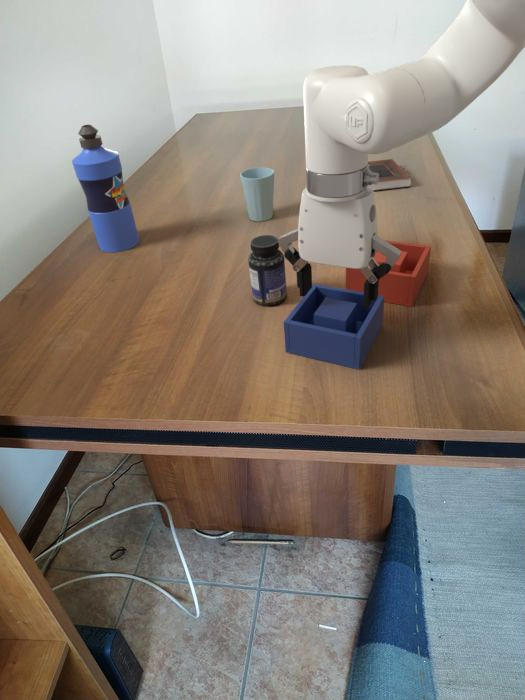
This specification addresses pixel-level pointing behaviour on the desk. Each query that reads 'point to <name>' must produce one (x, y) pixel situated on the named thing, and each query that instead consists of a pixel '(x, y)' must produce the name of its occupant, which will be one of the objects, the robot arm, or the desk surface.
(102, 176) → the water bottle
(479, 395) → the desk surface
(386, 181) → the hardcover book
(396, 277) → the red bin
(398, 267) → the red block
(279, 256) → the pill bottle
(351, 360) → the blue bin
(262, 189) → the cup
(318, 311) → the blue block
